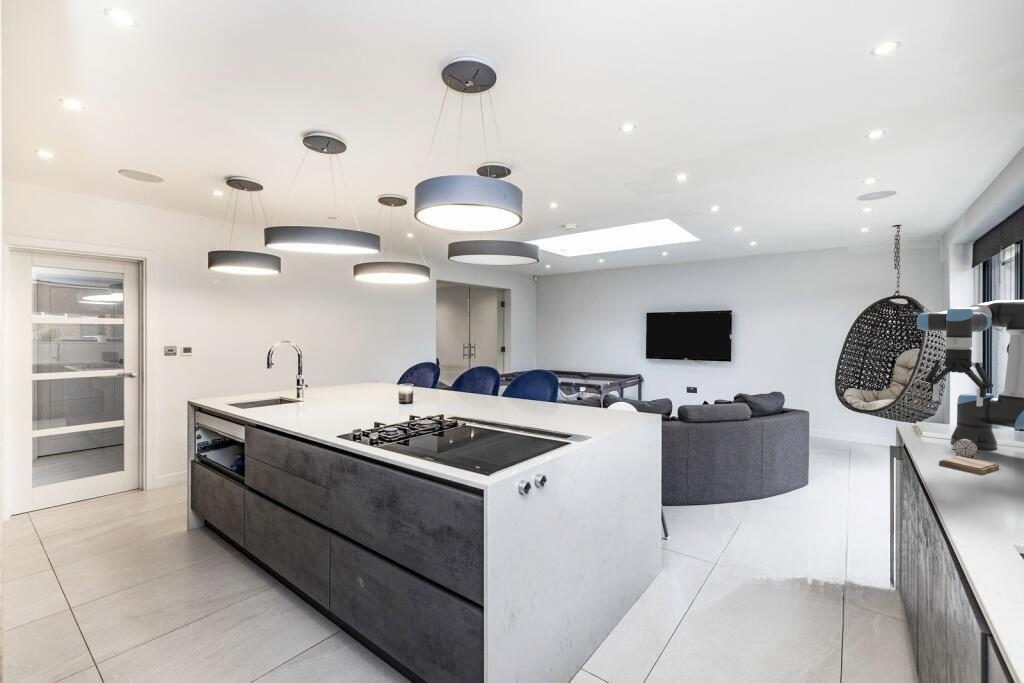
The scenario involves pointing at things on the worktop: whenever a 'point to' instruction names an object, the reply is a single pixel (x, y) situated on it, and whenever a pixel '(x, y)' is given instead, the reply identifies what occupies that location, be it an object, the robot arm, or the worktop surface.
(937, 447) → the worktop surface
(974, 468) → the plate
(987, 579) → the worktop surface
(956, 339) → the robot arm
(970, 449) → the game die
